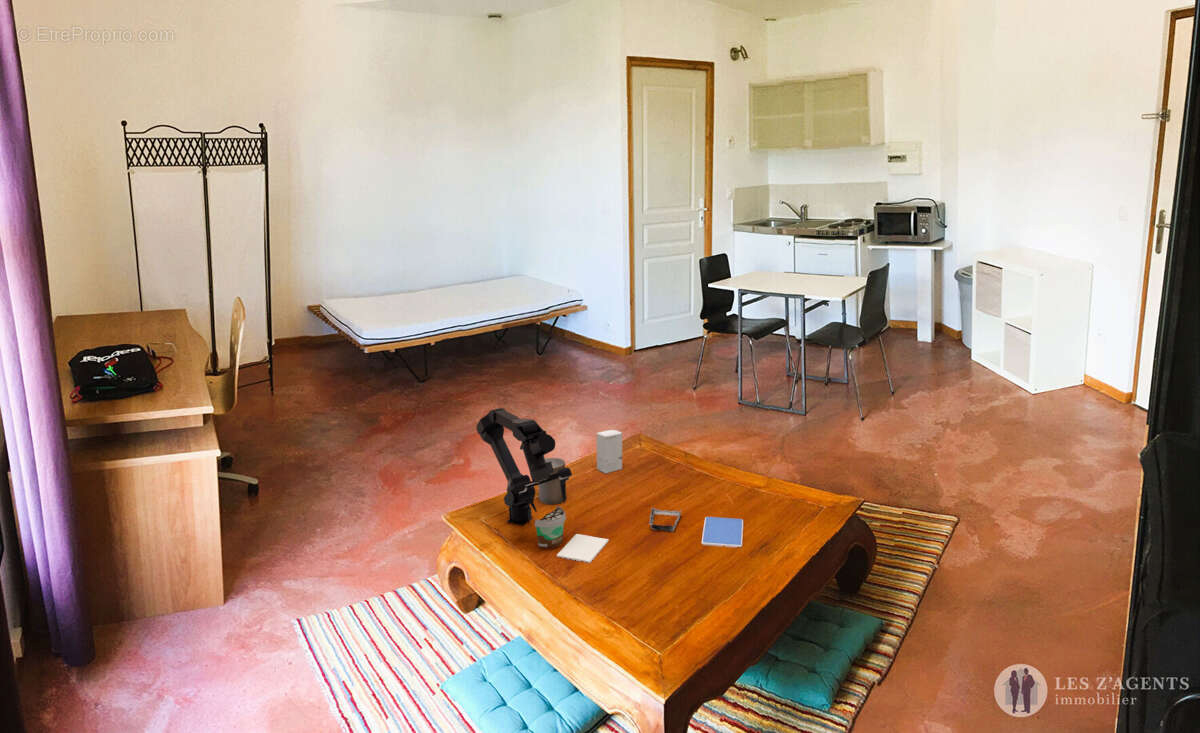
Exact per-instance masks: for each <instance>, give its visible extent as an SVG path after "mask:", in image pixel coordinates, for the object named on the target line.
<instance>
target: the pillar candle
mask: <svg viewBox="0 0 1200 733" xmlns="http://www.w3.org/2000/svg"><path fill="white" fill-rule="evenodd" d="M545 461H546V463H547V462H550V461H551V463H552V466H553V470H554V472H553V473H550V475H552V474H555V473H558V472H557V470H560V469H564V468H566V461H565V460H564V459H563V458H558V457H545ZM538 483H539V482H538ZM567 498H568V497H567V484H566V485H565V501H567ZM538 499H539V501H540V503H542V502H543V503H542V504H544V503H545V504H544V505H557V504H562V503H564V501H563V498H562V493H561V487H560V479H559V478H558V479H555V480H552V481H549V482H546V483H543V484H540V485H538Z"/></svg>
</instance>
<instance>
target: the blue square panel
mask: <svg viewBox="0 0 1200 733" xmlns="http://www.w3.org/2000/svg"><path fill="white" fill-rule="evenodd" d="M703 522H704V524H703V529H702V536H701V537H702V538H701V544H702V546H712V547H713V546H714V547H723V546H725V547H724V548H726V547H727V548H737V547H740V548H742V547H743V535H744V534H743V533H744V519H742V518H730V517H716V516H706V517H705V518H704V521H703Z"/></svg>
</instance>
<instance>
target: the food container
mask: <svg viewBox="0 0 1200 733" xmlns="http://www.w3.org/2000/svg"><path fill="white" fill-rule="evenodd" d="M566 520H567V515H566V512H565V510H564V509H563V508H562V507H561V506H558V505H556V507H555V509H554V510H552V511H551V512H548V513H546V514H545V515H544V516H543V517H542V518H540V519H537V518H536V519H535V522H534V527H535V529H536V538H537V545H538V546H537V547H540V548H539V549H542V548H552V549H554V548H553V547H556V548H558V547H560V546H561V545H562V544H563V543H562V542H564V524H565V521H566ZM560 544H561V545H560ZM559 545H560V546H559ZM557 546H558V547H557Z"/></svg>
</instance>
